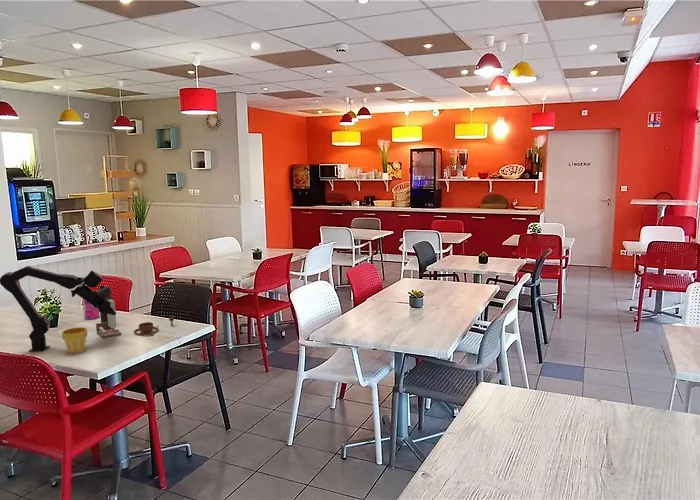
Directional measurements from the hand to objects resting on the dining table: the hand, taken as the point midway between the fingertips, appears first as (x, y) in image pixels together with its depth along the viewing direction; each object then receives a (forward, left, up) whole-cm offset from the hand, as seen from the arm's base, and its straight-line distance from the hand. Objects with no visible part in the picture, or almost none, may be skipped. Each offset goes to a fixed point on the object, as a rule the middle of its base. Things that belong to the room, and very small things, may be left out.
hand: (114, 312), depth 258 cm
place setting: (+10, -16, -14) cm, 23 cm away
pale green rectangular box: (-1, +1, -7) cm, 7 cm away
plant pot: (-17, +12, -13) cm, 25 cm away
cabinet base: (+6, +6, -13) cm, 15 cm away
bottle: (+23, +13, -13) cm, 29 cm away
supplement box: (+38, +28, -13) cm, 49 cm away
